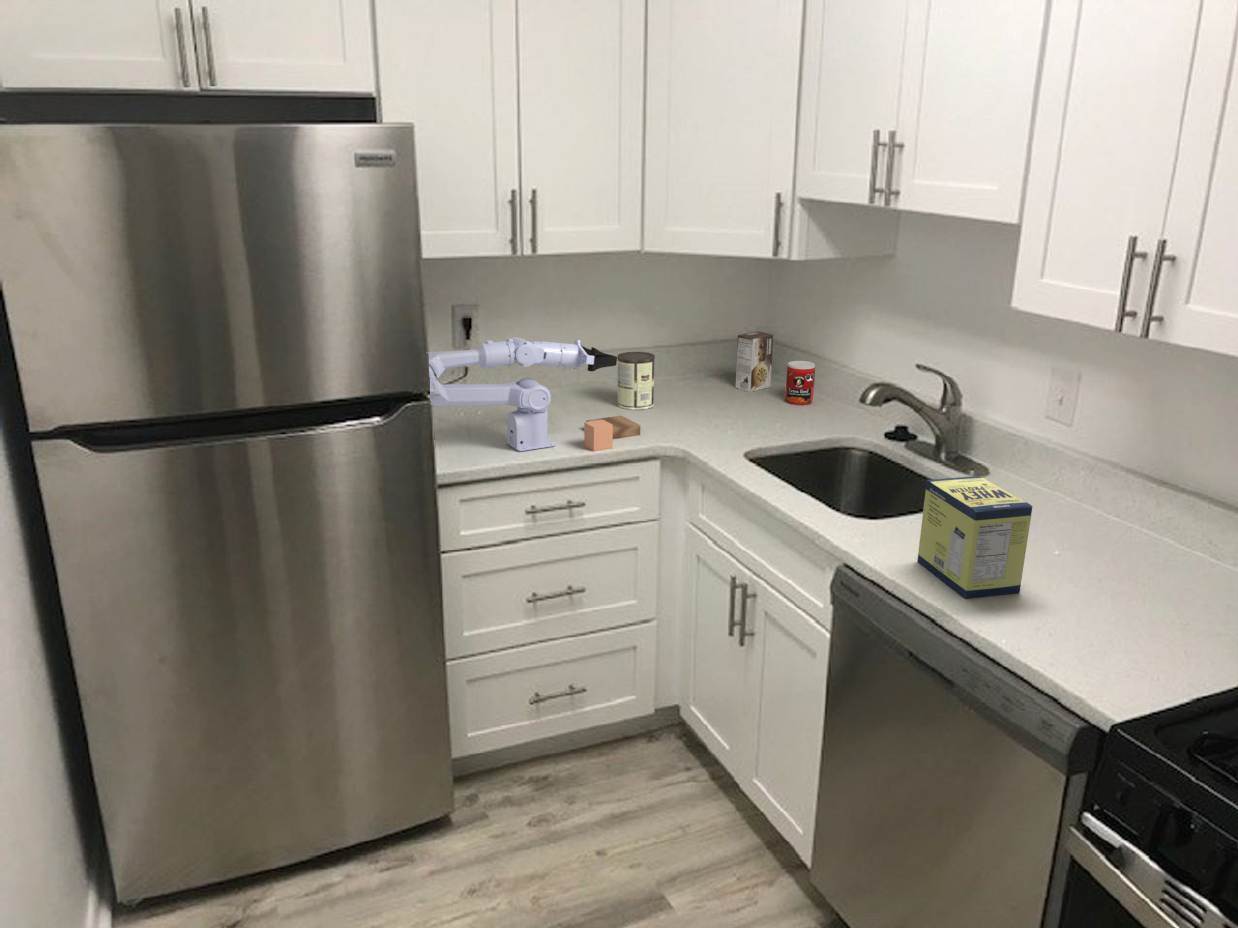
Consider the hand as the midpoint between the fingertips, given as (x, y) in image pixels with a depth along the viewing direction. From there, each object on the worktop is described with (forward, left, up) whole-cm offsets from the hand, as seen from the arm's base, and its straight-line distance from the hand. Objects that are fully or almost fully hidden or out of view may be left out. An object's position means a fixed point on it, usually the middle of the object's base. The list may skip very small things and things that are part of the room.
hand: (609, 359), depth 235 cm
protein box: (+15, -100, -20) cm, 103 cm away
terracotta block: (-7, -7, -19) cm, 22 cm away
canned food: (+63, +4, -20) cm, 66 cm away
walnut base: (+2, +2, -20) cm, 20 cm away
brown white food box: (+61, +23, -20) cm, 68 cm away
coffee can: (+20, +22, -20) cm, 36 cm away
